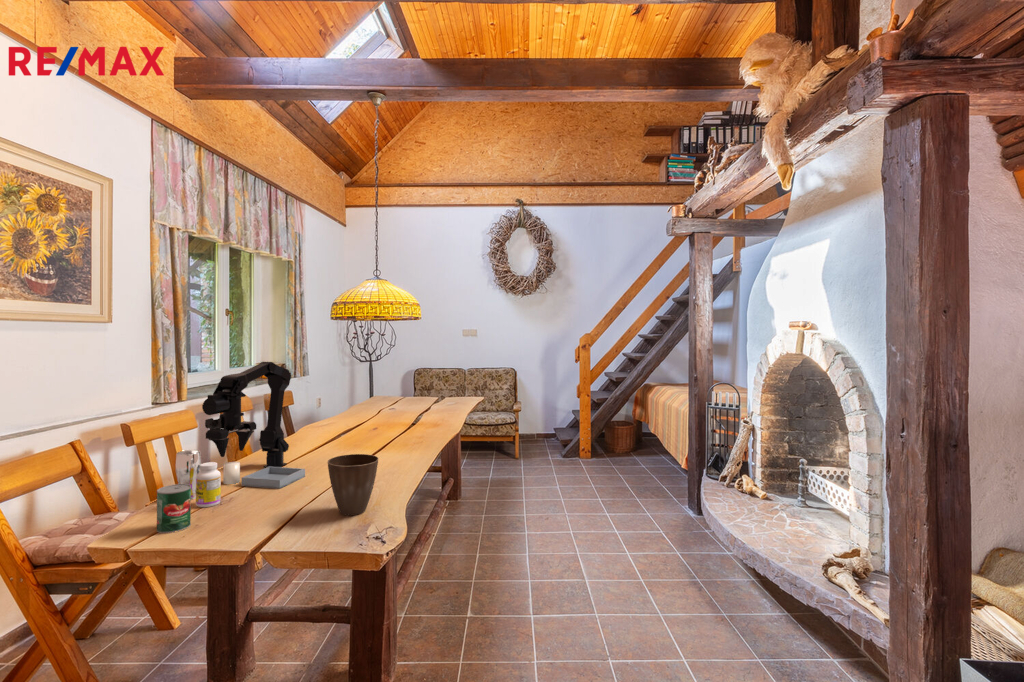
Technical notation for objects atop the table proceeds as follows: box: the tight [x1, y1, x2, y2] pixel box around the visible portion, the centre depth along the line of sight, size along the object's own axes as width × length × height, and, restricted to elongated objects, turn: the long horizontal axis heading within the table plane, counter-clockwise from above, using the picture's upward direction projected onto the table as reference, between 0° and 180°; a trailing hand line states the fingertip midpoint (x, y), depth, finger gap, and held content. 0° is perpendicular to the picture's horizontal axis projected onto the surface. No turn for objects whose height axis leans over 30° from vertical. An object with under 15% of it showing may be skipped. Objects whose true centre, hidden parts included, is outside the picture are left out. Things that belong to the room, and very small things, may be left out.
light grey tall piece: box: [175, 449, 202, 500], centre depth 162 cm, size 7×7×15 cm
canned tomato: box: [156, 483, 192, 534], centre depth 138 cm, size 8×8×11 cm
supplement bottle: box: [195, 461, 222, 508], centre depth 156 cm, size 7×7×13 cm
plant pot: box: [327, 453, 379, 516], centre depth 152 cm, size 15×15×16 cm
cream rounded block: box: [222, 461, 241, 486], centre depth 178 cm, size 5×5×7 cm
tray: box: [241, 466, 306, 490], centre depth 181 cm, size 15×15×3 cm
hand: (232, 453), depth 178 cm, fingers open, 9 cm apart
